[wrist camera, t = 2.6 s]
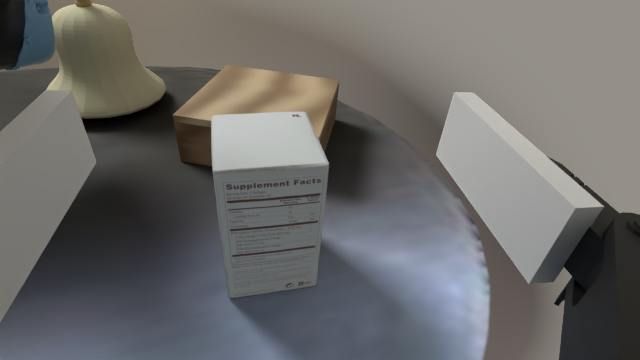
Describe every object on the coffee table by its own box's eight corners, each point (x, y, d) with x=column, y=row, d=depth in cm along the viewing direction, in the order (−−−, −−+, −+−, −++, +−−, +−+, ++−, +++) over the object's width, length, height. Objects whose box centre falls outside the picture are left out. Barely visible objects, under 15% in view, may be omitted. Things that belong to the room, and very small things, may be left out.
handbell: (190, 97, 57) (160, -109, 42) (104, 141, 46) (21, -119, 31) (117, 74, 62) (67, -118, 47) (23, 108, 51) (-82, -129, 36)
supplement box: (224, 234, 35) (210, 112, 27) (302, 226, 37) (309, 108, 29) (225, 302, 29) (209, 170, 22) (318, 289, 31) (332, 162, 23)
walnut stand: (180, 161, 44) (172, 114, 40) (230, 103, 56) (227, 64, 53) (315, 183, 42) (319, 137, 39) (335, 119, 55) (339, 80, 51)
